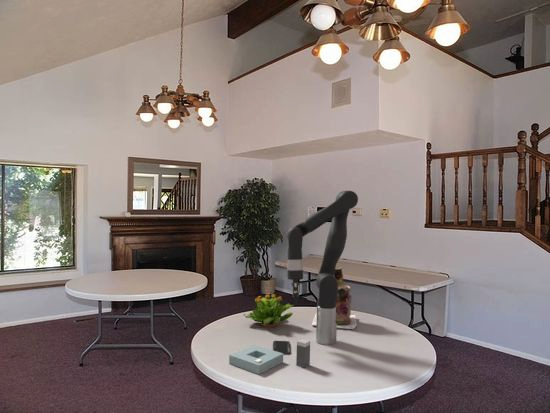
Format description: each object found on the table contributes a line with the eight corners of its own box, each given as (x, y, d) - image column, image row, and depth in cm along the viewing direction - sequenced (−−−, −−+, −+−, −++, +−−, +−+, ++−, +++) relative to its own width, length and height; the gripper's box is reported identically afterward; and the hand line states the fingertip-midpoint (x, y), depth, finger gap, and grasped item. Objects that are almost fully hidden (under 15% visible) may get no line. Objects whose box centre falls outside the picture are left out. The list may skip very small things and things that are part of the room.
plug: (301, 362, 160) (302, 338, 160) (309, 365, 158) (310, 340, 158) (296, 365, 157) (296, 341, 157) (304, 368, 155) (305, 343, 155)
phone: (289, 341, 184) (290, 352, 169) (289, 343, 184) (290, 355, 169) (273, 340, 184) (272, 352, 169) (273, 343, 184) (272, 354, 169)
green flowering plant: (267, 315, 229) (268, 286, 229) (301, 323, 215) (302, 292, 216) (240, 325, 209) (241, 293, 209) (275, 334, 195) (276, 300, 195)
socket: (254, 352, 170) (254, 343, 170) (283, 361, 160) (283, 352, 160) (229, 363, 157) (229, 353, 157) (258, 374, 148) (259, 363, 148)
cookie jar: (315, 315, 234) (316, 263, 234) (356, 318, 229) (357, 265, 229) (311, 327, 210) (312, 269, 210) (356, 331, 205) (358, 271, 205)
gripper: (303, 270, 175) (304, 306, 174) (302, 268, 190) (303, 301, 188) (287, 270, 176) (287, 306, 174) (287, 268, 190) (288, 301, 188)
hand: (295, 303), depth 181 cm, fingers open, 8 cm apart
